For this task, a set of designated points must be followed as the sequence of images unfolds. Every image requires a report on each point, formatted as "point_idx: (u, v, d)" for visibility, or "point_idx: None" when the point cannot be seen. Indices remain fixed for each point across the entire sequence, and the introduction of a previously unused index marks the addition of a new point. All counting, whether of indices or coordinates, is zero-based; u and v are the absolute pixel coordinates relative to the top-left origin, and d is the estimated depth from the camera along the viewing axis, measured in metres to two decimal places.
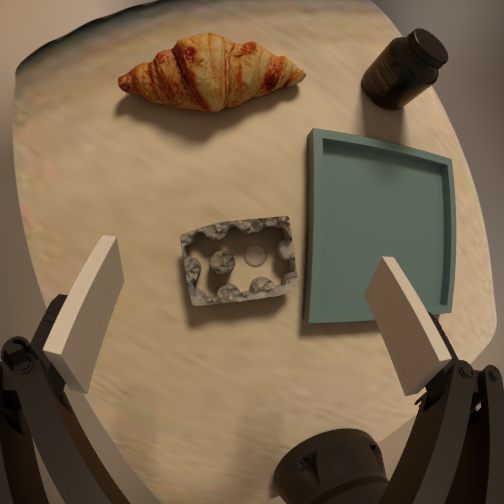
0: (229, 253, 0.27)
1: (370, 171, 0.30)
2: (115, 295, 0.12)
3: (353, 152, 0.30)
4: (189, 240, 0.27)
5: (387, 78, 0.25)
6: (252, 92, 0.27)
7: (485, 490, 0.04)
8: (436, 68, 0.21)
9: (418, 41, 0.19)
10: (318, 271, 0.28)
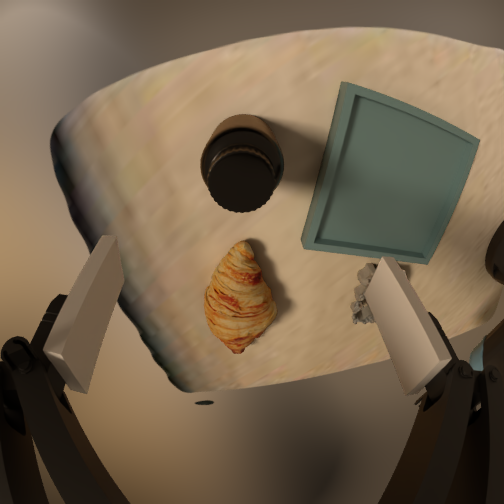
0: None
1: (345, 194, 0.32)
2: (114, 295, 0.12)
3: (325, 207, 0.33)
4: (357, 319, 0.43)
5: None
6: (264, 286, 0.38)
7: (485, 490, 0.04)
8: (274, 169, 0.21)
9: (246, 209, 0.21)
10: (403, 257, 0.36)
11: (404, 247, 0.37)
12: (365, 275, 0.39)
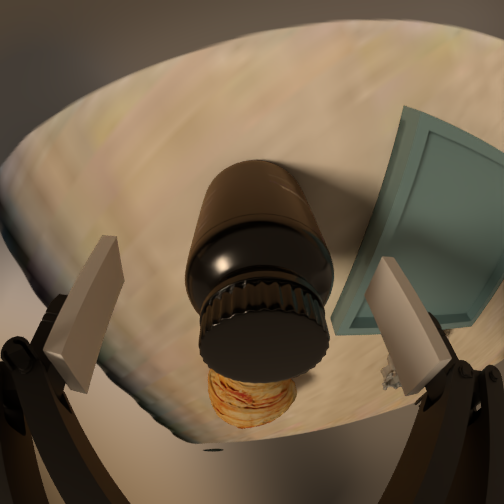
0: None
1: None
2: (115, 295, 0.12)
3: None
4: (388, 385, 0.33)
5: None
6: None
7: (485, 490, 0.04)
8: (324, 311, 0.11)
9: (272, 381, 0.11)
10: (449, 325, 0.26)
11: (450, 311, 0.27)
12: None
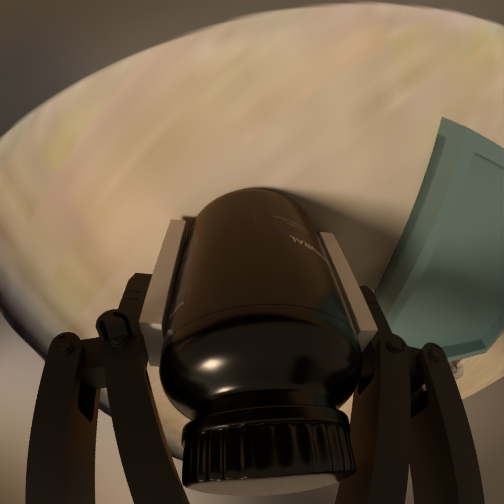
0: None
1: (415, 304, 0.18)
2: None
3: None
4: None
5: None
6: None
7: (454, 481, 0.05)
8: (350, 429, 0.07)
9: None
10: (464, 355, 0.23)
11: (465, 340, 0.23)
12: None
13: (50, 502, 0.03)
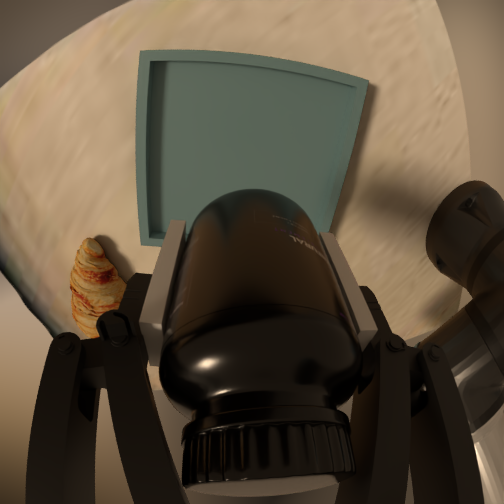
0: None
1: (174, 178, 0.27)
2: None
3: (155, 197, 0.28)
4: None
5: None
6: (117, 285, 0.33)
7: (454, 481, 0.05)
8: (350, 430, 0.07)
9: None
10: None
11: None
12: None
13: (50, 502, 0.03)
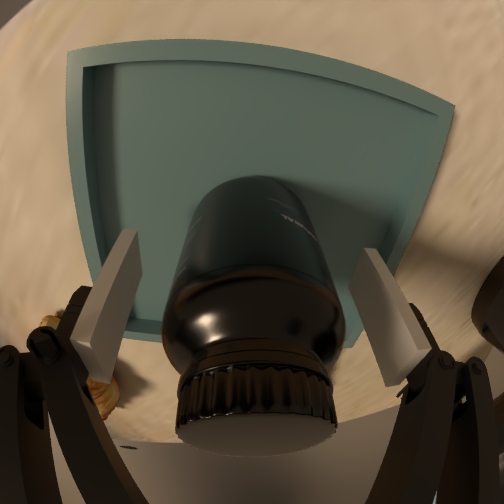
0: None
1: (144, 254, 0.18)
2: (134, 288, 0.13)
3: None
4: None
5: None
6: None
7: (477, 486, 0.04)
8: (332, 387, 0.08)
9: None
10: None
11: None
12: None
13: None
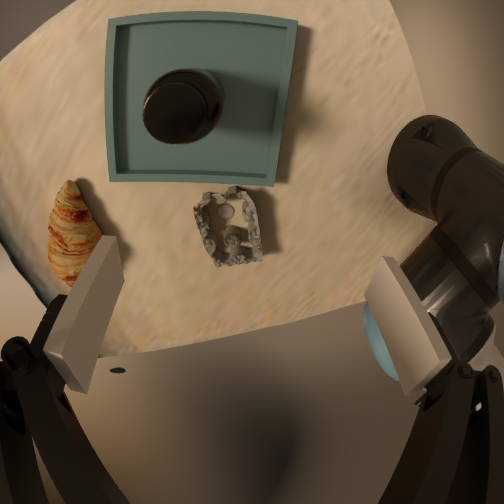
0: (225, 239, 0.37)
1: (137, 119, 0.29)
2: (115, 295, 0.12)
3: (122, 137, 0.30)
4: (218, 261, 0.40)
5: None
6: (90, 226, 0.35)
7: (485, 490, 0.04)
8: (207, 100, 0.19)
9: (181, 140, 0.20)
10: (230, 178, 0.33)
11: (235, 168, 0.34)
12: None
13: None
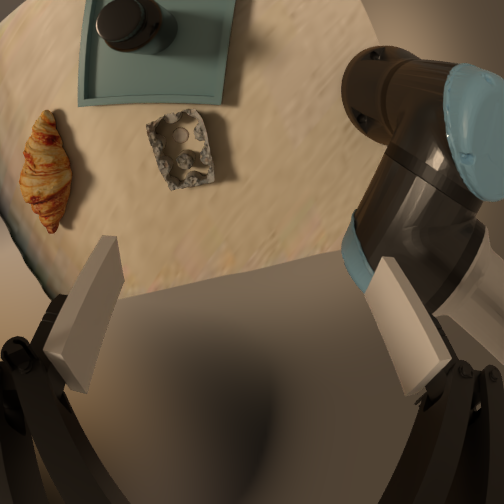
0: (177, 159, 0.36)
1: (106, 53, 0.27)
2: (115, 295, 0.12)
3: (92, 69, 0.28)
4: (172, 184, 0.38)
5: (155, 46, 0.24)
6: (59, 150, 0.33)
7: (485, 490, 0.04)
8: (146, 10, 0.18)
9: (121, 37, 0.18)
10: (180, 97, 0.31)
11: (186, 91, 0.32)
12: (155, 127, 0.34)
13: None
